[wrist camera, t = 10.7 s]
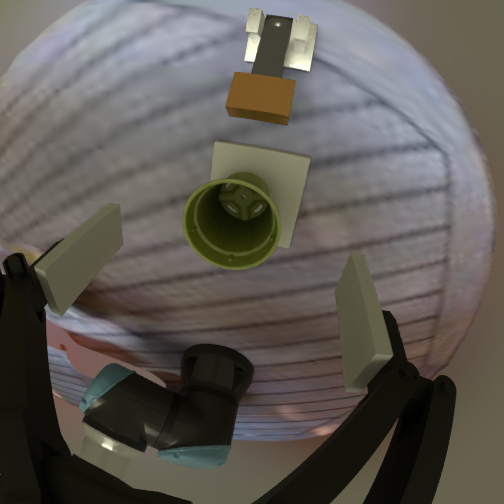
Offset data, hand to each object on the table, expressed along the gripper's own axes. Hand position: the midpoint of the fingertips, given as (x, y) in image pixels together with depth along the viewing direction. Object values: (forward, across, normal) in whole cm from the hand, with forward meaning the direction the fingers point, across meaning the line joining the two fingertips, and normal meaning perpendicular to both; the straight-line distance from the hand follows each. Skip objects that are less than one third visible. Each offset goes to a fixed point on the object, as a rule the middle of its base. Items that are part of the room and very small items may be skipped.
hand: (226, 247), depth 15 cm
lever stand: (+20, 0, -14) cm, 25 cm away
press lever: (+11, 0, -10) cm, 15 cm away
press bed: (+20, 0, +4) cm, 20 cm away
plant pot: (+19, +2, +4) cm, 19 cm away
